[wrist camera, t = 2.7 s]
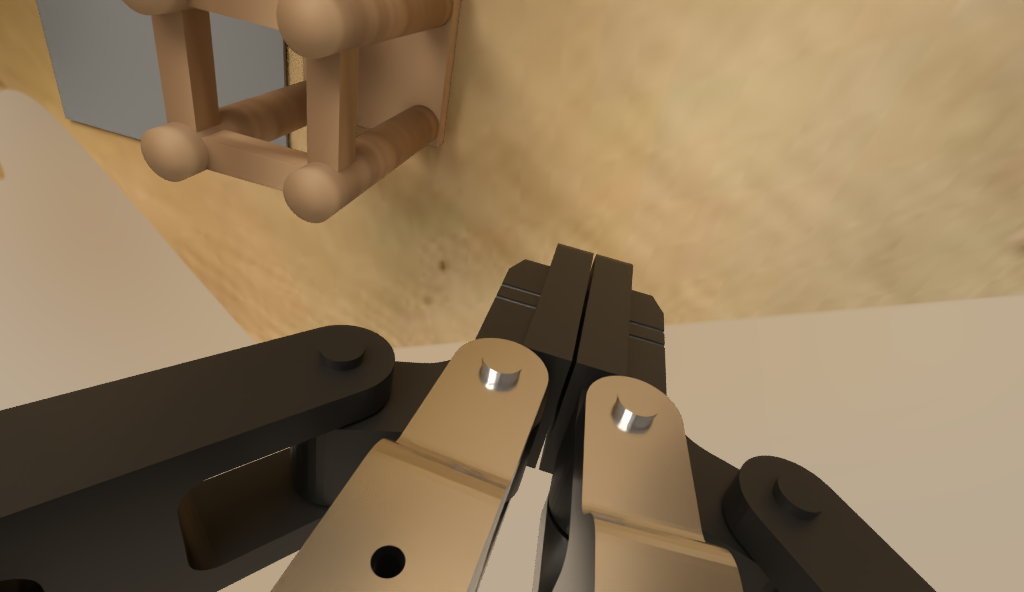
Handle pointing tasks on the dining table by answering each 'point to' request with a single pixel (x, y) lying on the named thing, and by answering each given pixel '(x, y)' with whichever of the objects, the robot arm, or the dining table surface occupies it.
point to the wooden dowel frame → (306, 95)
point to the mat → (146, 63)
